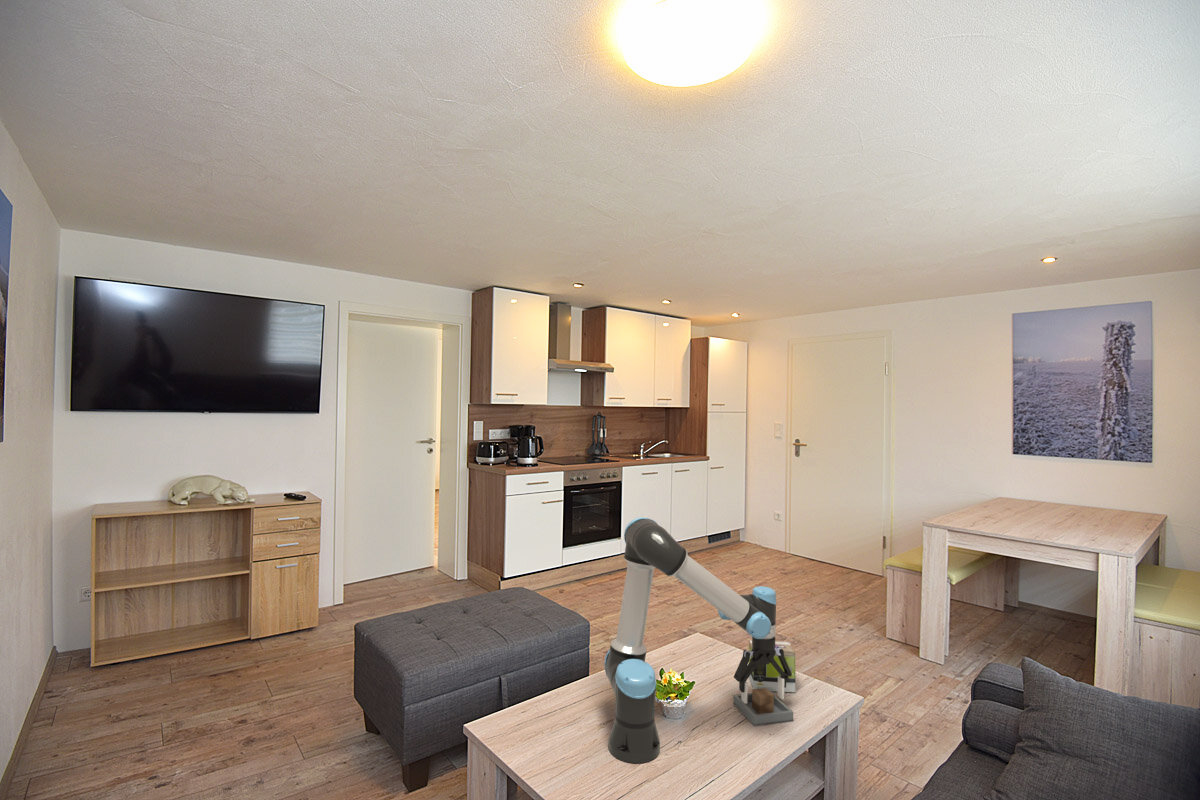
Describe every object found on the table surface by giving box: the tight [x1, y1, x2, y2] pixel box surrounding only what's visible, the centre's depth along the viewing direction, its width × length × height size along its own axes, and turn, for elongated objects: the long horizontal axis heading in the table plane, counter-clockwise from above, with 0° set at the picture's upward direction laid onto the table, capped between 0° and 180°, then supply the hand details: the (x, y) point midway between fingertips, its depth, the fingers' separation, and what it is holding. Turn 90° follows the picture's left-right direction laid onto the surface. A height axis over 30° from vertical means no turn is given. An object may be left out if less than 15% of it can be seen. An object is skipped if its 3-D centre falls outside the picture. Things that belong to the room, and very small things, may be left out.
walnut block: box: [751, 688, 775, 714], centre depth 186 cm, size 5×5×6 cm
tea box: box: [748, 639, 797, 693], centre depth 205 cm, size 15×10×15 cm
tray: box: [732, 691, 794, 727], centre depth 186 cm, size 14×14×3 cm
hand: (762, 699), depth 186 cm, fingers open, 13 cm apart
